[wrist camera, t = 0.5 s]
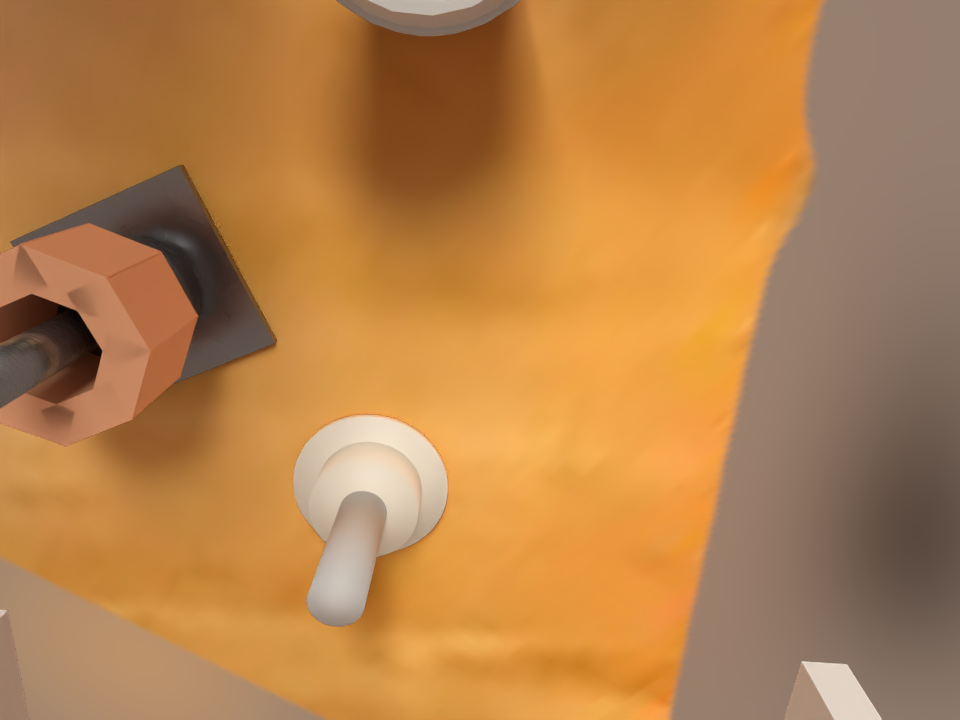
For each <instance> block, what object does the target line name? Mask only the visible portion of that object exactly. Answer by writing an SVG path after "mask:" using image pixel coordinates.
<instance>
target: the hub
mask: <svg viewBox="0 0 960 720" xmlns="http://www.w3.org/2000/svg"><path fill="white" fill-rule="evenodd" d="M293 489H294V495H295V499H296V502H297V505H298V507H299V509H300V511H301V513H302V515H303V516H304V518H305V519H306V521H307V522H308V523H309V524H310V525H311V526H312V528H313V529H315V531H316V532H317V534H318V535H319V536H320V537H321V539H322V540H323V541H325V542H326V546H325V549H324V551H323V554H322V557H321V560H320V562H319V565H318V568H317V571H316V573H315V576H314V579H313V582H312V584H311V587H310V590H309V593H308V596H307V607H308V609H309V611H310V613H311V614H312V616H313V617H314V618H315V619H317V620H318V621H319V622H321V623H323V624H326V625H329V626H335V627H341V626H347V625H350V624H352V623H354V622H355V621H357V620H358V619H359V618H360V617H361V615H362V614H363V611H364V608H365V604H366V600H367V595H368V591H369V587H370V583H371V579H372V575H373V571H374V566H375V562H376V558H377V557H378V556H383V555H386V554H389V553H391V552H393V551H396V550H400V549H403V548H406V547H408V546H410V545H412V544H414V543H416V542H418V541H419V540H421V539H422V538H423V537H425V536H426V535H427V534H428V533H429V532H430V531H431V530H432V529H433V528H434V526H435V525H436V524H437V523H438V521H439V519H440V517H441V516H442V514H443V511H444V508H445V505H446V501H447V494H448V477H447V472H446V468H445V465H444V462H443V460H442V458H441V456H440V454H439V452H438V451H437V449H436V448H435V446H434V445H433V444H432V443H431V441H430V440H429V439H428V438H427V437H426V436H425V435H423V434H422V433H421V432H420V431H418V430H417V429H415V428H414V427H412V426H410V425H409V424H407V423H405V422H402V421H400V420H398V419H395V418H391V417H388V416H383V415H375V414H358V415H352V416H347V417H344V418H340V419H337V420H335V421H333V422H331V423H329V424H327V425H325V426H324V427H322V428H321V429H320V430H318V431H317V432H316V433H315V434H314V435H313V436H312V437H311V438H310V439H309V440H308V441H307V443H306V444H305V446H304V447H303V449H302V451H301V453H300V455H299V457H298V459H297V461H296V465H295V468H294V474H293Z"/></svg>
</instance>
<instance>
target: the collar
mask: <svg viewBox="0 0 960 720" xmlns="http://www.w3.org/2000/svg"><path fill="white" fill-rule="evenodd" d="M59 304H60V305H63V306H66V307H68V308H71V309H74V310H76V311H78V313H79V314H80V316H81V317H82V319H83V321H84V322H85V324H86V325H87V327H88V329H89V330H90V332H91V333H92V335H93V336H94V338H95V340H96V341H97V343H98V344H99V346H100V348H101V349H102V355H101V357H99V356H96V355H93V354H91V353H88V354H86V355H85V356H83V357H82V358H80V359H78V360H77V361H75V362H74V363H72V364H70V365H69V366H67V367H66V368H64V369H62V370H61V371H59V372H58V373H56V374H55V375H53V376H51V377H50V378H48V379H47V380H45V381H43V382H42V383H40V384H39V385H37V386H35V387H34V388H32V389H31V390H29V391H28V392H26V393H24V394H23V395H21V396H20V397H18V398H16V399H15V400H13V401H12V402H10V403H8V404H7V405H5V406H4V407H2V408H1V409H0V423H1V424H4V425H6V426H9V427H12V428H15V429H18V430H21V431H24V432H26V433H29V434H32V435H35V436H38V437H41V438H43V439H46V440H49V441H52V442H55V443H58V444H60V445H63V446H64V447H65V446H68V445H70V444H72V443H75V442H77V441H80V440H82V439H85V438H87V437H90V436H92V435H95V434H97V433H100V432H102V431H105V430H107V429H110V428H112V427H115V426H117V425H120V424H123V423H125V422H128V421H130V420H131V421H132V420H133V419H134V418H135V417H136V416H137V415H138V414H140V413H141V412H142V411H143V410H144V409H145V408H146V407H147V406H149V405H150V404H151V403H152V402H153V401H154V400H155V399H156V398H157V397H159V396H160V395H161V394H162V393H163V392H164V391H165V390H166V389H167V388H169V387H170V386H171V385H172V384H173V383H174V382H175V381H176V380H178V379H179V378H180V377H181V373H182V370H183V366H184V363H185V359H186V356H187V352H188V349H189V346H190V342H191V339H192V335H193V332H194V328H195V325H196V322H197V318H198V315H197V313H196V312H195V310H194V308H193V306H192V305H191V303H190V301H189V299H188V297H187V296H186V294H185V292H184V290H183V289H182V287H181V285H180V283H179V282H178V280H177V278H176V276H175V275H174V273H173V271H172V269H171V268H170V266H169V264H168V262H167V261H166V259H165V257H164V255H163V253H162V252H161V251H159V250H156V249H153V248H151V247H148V246H146V245H143V244H141V243H138V242H136V241H133V240H131V239H128V238H126V237H123V236H120V235H118V234H115V233H113V232H110V231H108V230H105V229H103V228H100V227H98V226H95V225H92V224H91V223H87V224H84V225H80V226H77V227H74V228H70V229H67V230H64V231H61V232H57V233H54V234H51V235H47V236H44V237H41V238H37V239H34V240H31V241H28V242H24V243H21V244H19V245H18V246H16V247H14V248H11V249H9V250H7V251H5V252H3V253H0V343H2V342H4V341H6V340H8V339H10V338H12V337H14V336H16V335H18V334H20V333H22V332H24V331H26V330H28V329H30V328H32V327H34V326H36V325H39V324H41V323H43V322H45V321H47V320H49V319H51V318H53V317H55V316H57V311H58V306H59Z"/></svg>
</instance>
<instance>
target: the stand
mask: <svg viewBox="0 0 960 720" xmlns="http://www.w3.org/2000/svg"><path fill="white" fill-rule="evenodd" d="M87 223H91V224H92V225H95V226H98V227H100V228H103V229H105V230H108V231H110V232H113V233H115V234H118V235H120V236H123V237H126V238H128V239H131V240H133V241H136V242H138V243H141V244H143V245H146V246H148V247H151V248H153V249H156V250H159V251H161V252H162V253H163V255H164V257H165V259H166V261H167V262H168V264H169V266H170V268H171V269H172V271H173V273H174V275H175V276H176V278H177V280H178V282H179V283H180V285H181V287H182V289H183V290H184V292H185V294H186V296H187V297H188V299H189V301H190V303H191V305H192V306H193V308H194V310H195V312H196V313H197V315H198V318H197V322H196V325H195V328H194V332H193V335H192V339H191V342H190V346H189V349H188V352H187V356H186V359H185V363H184V366H183V370H182V373H181V377H180V378H179V379H178V380H176V381H175V382H174V383H177V382H179V381H182V380H184V379H187V378H189V377H192V376H194V375H197V374H199V373H202V372H204V371H207V370H209V369H212V368H214V367H217V366H219V365H222V364H224V363H227V362H229V361H232V360H234V359H237V358H239V357H242V356H244V355H247V354H249V353H252V352H254V351H257V350H259V349H262V348H264V347H267V346H269V345H272V344H274V343H275V342H276V341H277V340H276V338H275V336H274V334H273V332H272V331H271V329H270V327H269V325H268V323H267V321H266V319H265V317H264V316H263V314H262V312H261V310H260V308H259V306H258V304H257V302H256V301H255V299H254V297H253V295H252V293H251V291H250V289H249V287H248V286H247V284H246V282H245V280H244V278H243V276H242V274H241V273H240V271H239V269H238V267H237V265H236V263H235V261H234V259H233V258H232V256H231V254H230V252H229V250H228V248H227V246H226V244H225V243H224V241H223V239H222V237H221V235H220V233H219V231H218V229H217V228H216V226H215V224H214V222H213V220H212V218H211V216H210V215H209V213H208V211H207V209H206V207H205V205H204V203H203V201H202V200H201V198H200V196H199V194H198V192H197V190H196V188H195V186H194V185H193V183H192V181H191V179H190V177H189V175H188V173H187V172H186V170H185V168H184V166H183V165H180V166H177V167H175V168H173V169H170V170H168V171H166V172H164V173H162V174H159V175H157V176H155V177H153V178H151V179H148V180H146V181H144V182H142V183H139V184H137V185H135V186H133V187H131V188H128V189H126V190H124V191H122V192H119V193H117V194H115V195H113V196H111V197H108V198H106V199H104V200H102V201H100V202H97V203H95V204H93V205H91V206H88V207H86V208H84V209H82V210H80V211H77V212H75V213H73V214H71V215H68V216H66V217H64V218H62V219H60V220H57V221H55V222H53V223H51V224H49V225H46V226H44V227H42V228H40V229H37V230H35V231H33V232H31V233H29V234H26V235H24V236H22V237H20V238H17V239H15V240H13V241H11V244H12V245H13V247H16V246H18V245H19V244H21V243H24V242H28V241H31V240H34V239H37V238H41V237H44V236H47V235H51V234H54V233H57V232H61V231H64V230H67V229H70V228H74V227H77V226H80V225H84V224H87ZM88 353H91V354H93V355H96V356H99V357H101V355H102V349H101V348H100V346H99V344H98V343H97V341H96V340H95V338H94V336H93V335H92V333H91V332H90V330H89V329H88V327H87V325H86V324H85V322H84V321H83V319H82V317H81V316H80V314H79V313H78V311H76V310H74V309H71V308H68V307H66V306H63V305H60V304H59V306H58V311H57V316H55V317H53V318H51V319H49V320H47V321H45V322H43V323H41V324H39V325H36V326H34V327H32V328H30V329H28V330H26V331H24V332H22V333H20V334H18V335H16V336H14V337H12V338H10V339H8V340H6V341H4V342H2V343H0V409H1V408H2V407H4V406H5V405H7V404H8V403H10V402H12V401H13V400H15V399H16V398H18V397H20V396H21V395H23V394H24V393H26V392H28V391H29V390H31V389H32V388H34V387H35V386H37V385H39V384H40V383H42V382H43V381H45V380H47V379H48V378H50V377H51V376H53V375H55V374H56V373H58V372H59V371H61V370H62V369H64V368H66V367H67V366H69V365H70V364H72V363H74V362H75V361H77V360H78V359H80V358H82V357H83V356H85V355H86V354H88ZM174 383H173V384H174Z"/></svg>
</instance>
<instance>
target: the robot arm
mask: <svg viewBox="0 0 960 720" xmlns="http://www.w3.org/2000/svg"><path fill="white" fill-rule="evenodd" d="M0 720H30V719H29V714H28V709H27V704H26V699H25V694H24V689H23V684H22V679H21V674H20V669H19V664H18V659H17V655H16V649H15V645H14V640H13V635H12V630H11V625H10V620H9V615H8V611H7V610H0ZM784 720H882V719H881V717H880V716H879V714H878V713H877V711H876V709H875V708H874V706H873V705H872V703H871V702H870V700H869V698H868V697H867V696H866V694H865V692H864V691H863V689H862V687H861V686H860V684H859V683H858V681H857V679H856V678H855V676H854V675H853V673H852V672H851V670H850V668H849V667H848V665H847V664H834V663H818V662H801V666H800V669H799V672H798V676H797V679H796V682H795V685H794V688H793V692H792V695H791V698H790V702H789V705H788V708H787V711H786V715H785V718H784Z"/></svg>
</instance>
